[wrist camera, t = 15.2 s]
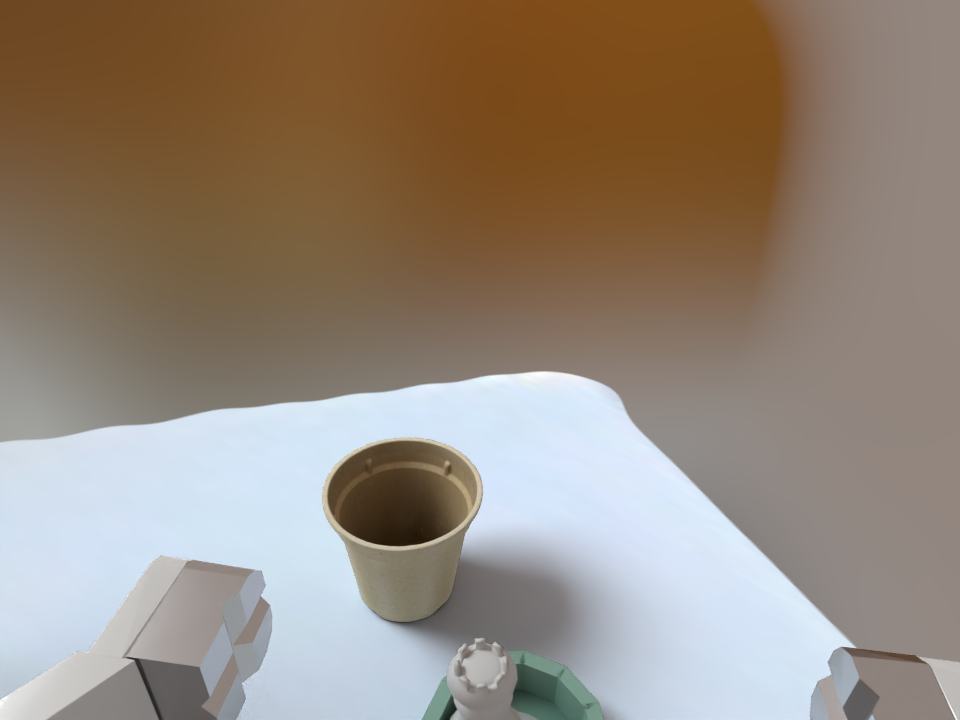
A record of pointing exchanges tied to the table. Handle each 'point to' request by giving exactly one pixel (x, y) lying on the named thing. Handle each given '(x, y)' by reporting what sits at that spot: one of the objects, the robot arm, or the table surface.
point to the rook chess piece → (482, 682)
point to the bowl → (533, 693)
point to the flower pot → (403, 521)
